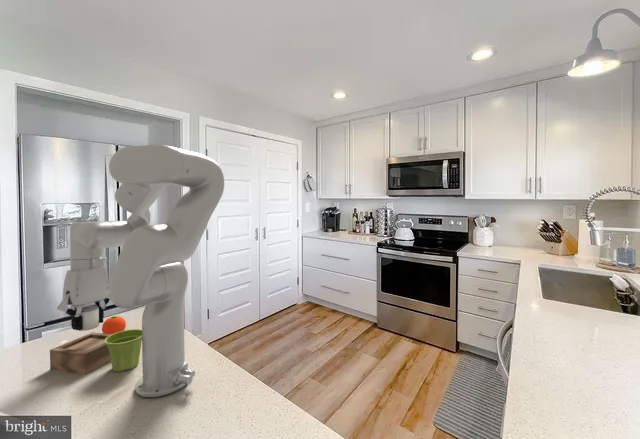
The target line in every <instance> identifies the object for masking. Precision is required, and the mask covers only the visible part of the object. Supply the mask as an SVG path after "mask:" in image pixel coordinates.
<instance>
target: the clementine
mask: <svg viewBox="0 0 640 439" xmlns="http://www.w3.org/2000/svg"><path fill="white" fill-rule="evenodd" d="M126 326H127V322H126V320H125V318H124V317H122V316H120V315H112V316H110V317H108V318H107V319H105V321H103V323H102V327H101V333H104V334H114V333H117V332H121V331H125V330H126V328H127V327H126Z"/></svg>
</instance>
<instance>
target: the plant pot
mask: <svg viewBox="0 0 640 439" xmlns="http://www.w3.org/2000/svg"><path fill="white" fill-rule="evenodd" d="M104 342H105V344H106V345H107V347H108V349H109V354H110V358H111V361H110V362H111V363H110V364H111V368H112V370H113V371H114V372H120V373H121V372H123V371H126V370H128V371H130V370H132V369H134V368H135V367H137V366H138V365H139V362H140V357H141V350H142V348H141V347H142V329H139V328H132V329H127V330H126V329H125V330H124V331H121V332H117V333H114V334H112V335H110V336H108V337H107V338H106V339H105V340H104Z"/></svg>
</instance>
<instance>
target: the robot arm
mask: <svg viewBox="0 0 640 439" xmlns="http://www.w3.org/2000/svg"><path fill="white" fill-rule="evenodd" d="M108 171H109V175H110V176H111V177H112V179H113V180H114V181H116V182H118V183H119V184H120V183H121V184H120V185H119V187H118V188H117V189H116V191H115V192H114V199H115V201H116V203H117V204H118V206H120V207H121V208H122V209H124V210H125V211H126V212H129V213H130V215H129V217H127V218H126V220H125V219H124V220H107V221H106V220H103V221H92V220H91V221H75V222H72V223H71V224H70V227H69V246H70V248H69V252H70V254H69V255H70V263H69V264H70V269H69V270H66V272H65V275H64V276H65V277H64V279H63V280H64V282H63V288H62V301H60V303H59V304H58V305H57V307H56V310H58V311H60V312H63V313H64V314H66V315H68V316H69V317H70V318H71V325H70V327H71V328H72V330H74V331H78V330H79V331H80V330H82V329H83V320H82V316H80V313H81V310H82V306H85V305H90V304H93V303H94V304H93V305H98V307H99V324H103V323H104V317H105V316H104V315H105V314H104V312H105V309H106V307H107V304H108V303H109V302H110V301H111V302H112V303H113V305H115V306H116V307H118V308H120V309H125V310H126V309H134V308H137V307H140V306H144V309H143V312H142V317H141V330H142V342H141V347H142V348H141V351H142V352H141V354H142V355H141V357H142V358H141V360H142V363H141V364H142V376H141V377H140V378H138V380H137V381H136V382H135V392H136V394H137V395H139V396H141V397H144V398H145V397H146V398H155V397H156V398H157V397H162V396H166V395H169V394H172V393H174V392H176V391H179V390H180V389H182V388H183V387H185V386H186V385H191V383H192V382H193V379H194V378H193V377H194V376H196V375H195V374H196V372H195V370H191V369H190V368H189V365H188V364H189V362H186V361H185V298H186V292H187V288H188V287H187V286H188V282H189V274H188V270H187V268H186V266H185V265H184V264H183V262H184V261H187V260H189V259H190V258H192V257H193V255H194V254H195V252H196V251H197V248H198V246H199V244H200V242H201V239H202V237H203V235H204V232H205V230H206V228H207V226H208V223H209V221H210V220H211V217H212V215H213V214H214V212H215V209H216V208H217V207H218V205H219V203H220V200H221V199H222V197H223V194H224V190H225V176H224V172H223V171H222V168H221V166H220V165H219V164H218V163H217V162H216V161H215V160H214V159H212V158H210V157H208V156H206V155H204V154H202V153H199V152H195V151H190V150H187V149H186V150H185V149H183V148H177V147H175V146H171V145H166V144H146V145H135V146H134V145H133V146H126V147H122V148H120V149H118V150H117V151H116V152H115V153H114V154H112V156H111V158H110V160H109V163H108ZM168 186H176V187H184V188H188V189H189V190H188V191H187V192H186V193H185V194H183V195H182V196H181V197H180V198H179V199H178V200H177V202H176V203H175V205H174V206H173V208H172V211H171V213H170V215H169V217H168V219H166V220H167V221H166V222H164V223H162V224H151V211H150V208H151V206H152V205H153V204H154V203H155V202H156V201H157V199H158V198H159V197H160V195H161V194H162V193H163V192H164V191H165V189H167V187H168ZM114 247H115V248H117V247H122V248H121V250H120V253H119V256H118V258H117V260H116V263H115V266H114V268H113V271H112V273H111V276H110V279H109V275H108V269H107V267H106V266H105V262H106V263H107V261H108V257H105V255H104V254H105V253H104V252H105V250H104V249H107V248H114ZM68 306H70V307H68ZM80 332H81V331H80Z"/></svg>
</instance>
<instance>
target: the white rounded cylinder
mask: <svg viewBox="0 0 640 439" xmlns="http://www.w3.org/2000/svg"><path fill="white" fill-rule="evenodd" d="M80 316H82V320H83V329H82V330H80V332H83V331H84V332H85V331H90V330H94V329H96V328H98V327H100V323H99V307H98V305H95V304H85V305H83V306H82V310H81V313H80ZM77 331H79V330H77Z"/></svg>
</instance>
